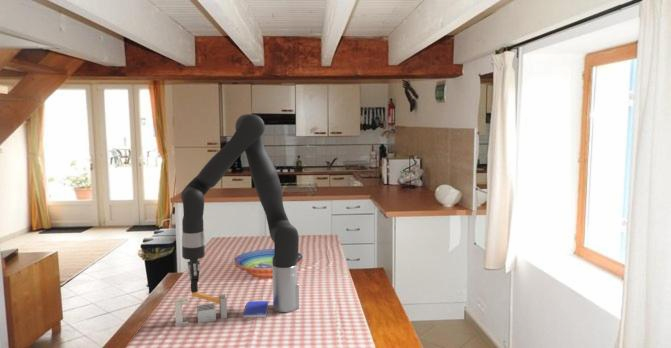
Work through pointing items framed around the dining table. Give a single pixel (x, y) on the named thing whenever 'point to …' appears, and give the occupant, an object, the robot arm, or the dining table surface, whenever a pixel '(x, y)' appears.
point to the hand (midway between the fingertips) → (194, 291)
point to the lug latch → (179, 309)
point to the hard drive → (256, 309)
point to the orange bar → (206, 297)
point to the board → (222, 311)
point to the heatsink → (206, 313)
